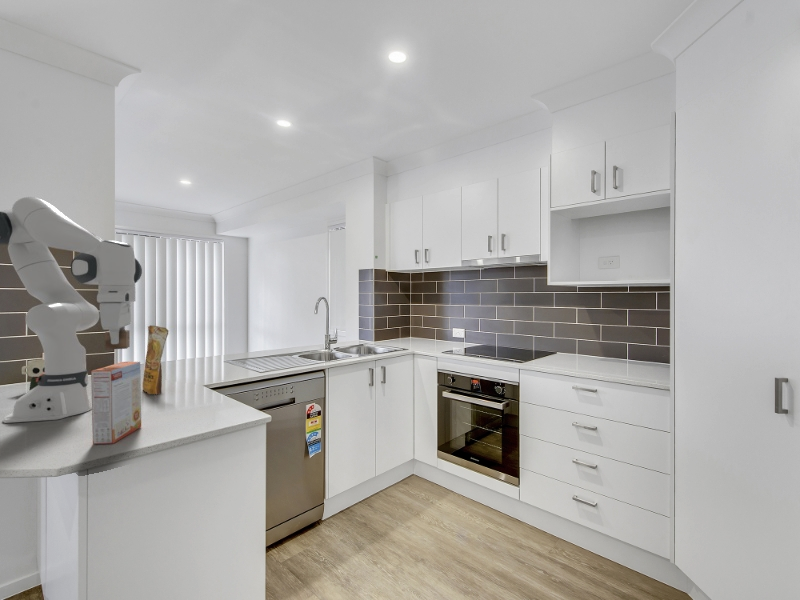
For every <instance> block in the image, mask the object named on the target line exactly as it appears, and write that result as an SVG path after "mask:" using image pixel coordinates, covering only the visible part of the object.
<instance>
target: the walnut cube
mask: <svg viewBox="0 0 800 600" xmlns="http://www.w3.org/2000/svg"><path fill="white" fill-rule="evenodd" d="M130 332H131V331H130V329H125V330H119V338H120V340H119V341H120V342H119V343H118V344H111V337H110V333H109V330H107V331H105V332H104V336H105V337H104V338H105V341H104V342H105V344H104V347H105V348H104V349H105V351H107V350H123V349H124V350H125V349H128V348H130V344H131V341H130Z"/></svg>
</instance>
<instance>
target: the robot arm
mask: <svg viewBox="0 0 800 600" xmlns="http://www.w3.org/2000/svg"><path fill="white" fill-rule="evenodd" d="M0 245H1V246H2V245H8V246H7V251H8V255H9V258H10V261H11V264H12V266H13V268H14V270H15V272H16V273H17V275H18V277H19V279H20V281H21V282H22V284H23V286H24V288H25V289H26V291H27V293H28V294H29V295H30V296H31V297H34V298H35V299H37V300H39V301H40V302H41V303H40V304H38V305H35V306H33V307H31V308H30V309H29V310H28V312H26V315H25V323H26V326H27V328H29V330H31V332H33V333H34V334H35V335H36V336H37V338H38V340H39V341H40V343H41V347H42V350H43V358H44V359H43V360H44V364H45V373H43V374H41V375H40V376H39V377H37V378H36V379H37V380H36V382H37V384H38V386H36V387H35V388H33V389H32V390H29V391H28V392H26V393H24V394H23V395H22V396H20V397H18V399H17V400H16V401H15V403H14V405H13V411H12V412H11V413H8V414H7V415H5V416H4V417H3V423H4V424H5V423H7V424H10V423H22V422H23V423H24V422H25V423H26V422H38V421H40V422H42V421H56V420H61V419H64V418H65V419H66V418H67V417H71V416H76V415H80V414H83V413H87V412H88V411H92V403H91V401H90V398H89V394H88V393H89V392H88V387H87V386H88V384H89V374H88V370H87V350H86V348H85V346H84V345H82V344H81V343H80V341H79V338H78V335H77V332H82V331H85V330H88V329H90V328H92V327H94V326H95V325H96V324H97V323H98V322H99V320H100V325H101V327H102V330H104V331H105V330H107V331H109V333H110V337H111V344H118V343H119V342H120V341H119V340H120V338H119V330H126V326H129V325H130V324H131V322H132V318H131V317H132V316H131V315H132V314H131V302H136V283H138V282H139V280H140V279H141V278H142V277H141V276H142V273H143V268H142V265H141V263H140V262H139V261H138V259H137V258H136V257H135V251H134V248H133V246H132V245H131V244H130V243H127V242H124V241H123V242H122V241H117V240H110V239H109V240H108V239H105V240H104V239H102V238H101V237H99V236H97V235H96V234H94V233H93V232H91V231H89V230H87V229H86V228H84V227H83V226H81V225H79V224H78V223H76V222H75V221H73V219H71V218H69V217H68V216H66V215H65V213H63V212H62V211H61V210H59V208H57V207H55V205H52V204H51V203H49V202H47V201H46V200H45V199H41V198H40V197H35V196H26V197H22V198H20V199H19V198H18V200H16V201H15V202H14V204H13V205H12V209H6V210H0ZM49 248H52V249H57V250H64V251H65V250H66V251H71V252H75V253H76V252H77V253H78V254H76V256H74V257H73V259H72V260H71V264H70V271H71V275H72V276H73V277H72V278H74V279H75V281H77V282H78V283H80V284H85V285H96V286H97V285H98V288H97V289H98V291H97V295H96V301H97V303H99V309H98V308H97V307H96V306H95V305H93V304H92V303H90V302H89V301H87V300H86V299H85V298H84V297H83V296H82V294H80V293H79V292H78V291H77V290H76V288H74V286H73V285H71V283H70V282H69V281H68V278H66V275H65V274H64V273H63V270H62V268H61V266H59V264H58V261H57V260H56V258H55V257H54V256H53V254H52V252H51V251H50V249H49Z"/></svg>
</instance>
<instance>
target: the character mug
mask: <svg viewBox="0 0 800 600" xmlns="http://www.w3.org/2000/svg"><path fill="white" fill-rule="evenodd" d="M26 369H27V371H26ZM43 373H45V364H44V359H33V360H29V361H27V365H23V366H21V375H27V376H28V377H31V379H30V383H29V391H30V390H32V389H33V388H35V387H36V386H38V384H37V382H36V380H37V379H36V378H37V377H39V376H40V375H41V374H43Z"/></svg>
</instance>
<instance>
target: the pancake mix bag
mask: <svg viewBox="0 0 800 600" xmlns="http://www.w3.org/2000/svg"><path fill="white" fill-rule="evenodd" d="M147 331H148V334H147V344H146V345H147V348H146V349H147V350H146V355H145V361H144V362H145V363H144V370H143V377H142V379H143V380H142V391H143V390H144V391H143V392H145V393H146V392H147V394H148V393H149V394H148V395H150V394H154V395H155V394H156V395H157V394H158V395H160V394H159V393H161V394H162V386H163V385H162V384H163V381H162V380H163V373H162V357H163V353H164V348H165V344H166V340H167V338H168V335H169V330H168V328H167V327H163V326H162V327H161V326H158V325H148V326H147Z"/></svg>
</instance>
